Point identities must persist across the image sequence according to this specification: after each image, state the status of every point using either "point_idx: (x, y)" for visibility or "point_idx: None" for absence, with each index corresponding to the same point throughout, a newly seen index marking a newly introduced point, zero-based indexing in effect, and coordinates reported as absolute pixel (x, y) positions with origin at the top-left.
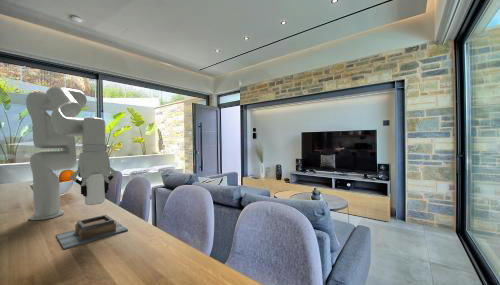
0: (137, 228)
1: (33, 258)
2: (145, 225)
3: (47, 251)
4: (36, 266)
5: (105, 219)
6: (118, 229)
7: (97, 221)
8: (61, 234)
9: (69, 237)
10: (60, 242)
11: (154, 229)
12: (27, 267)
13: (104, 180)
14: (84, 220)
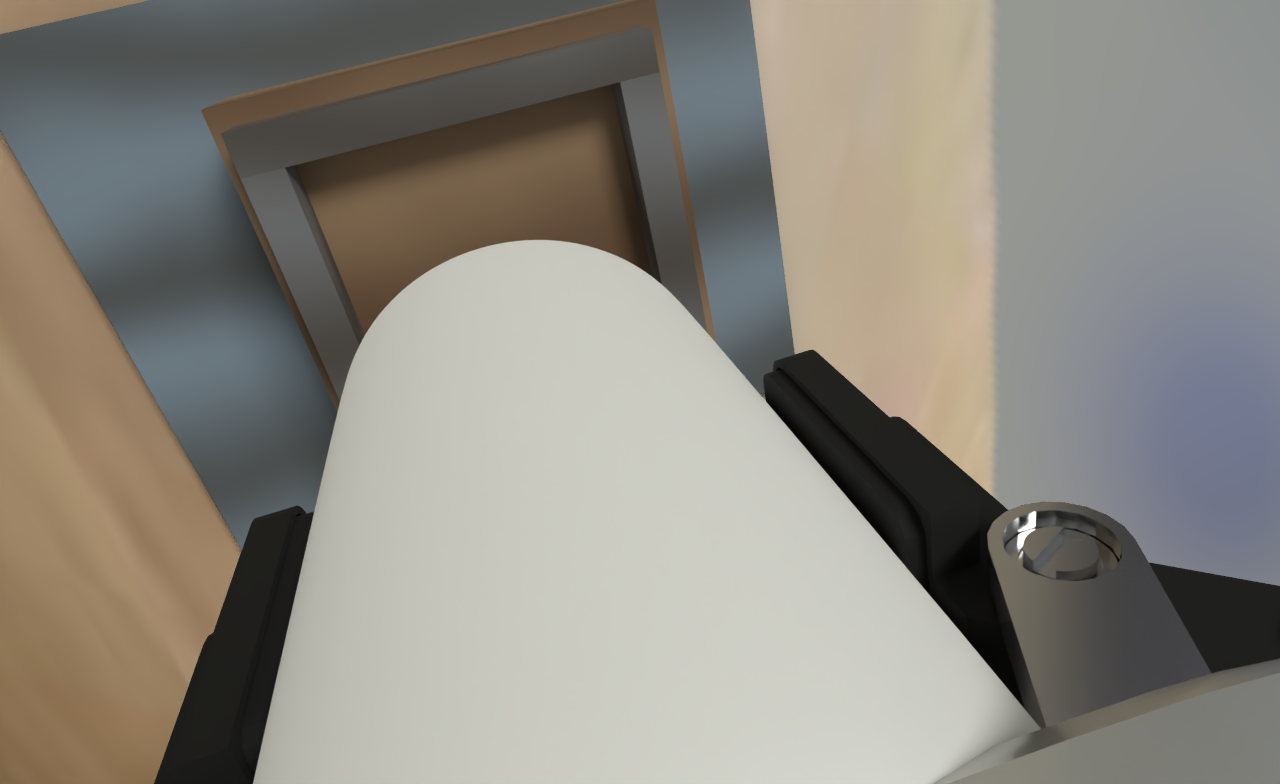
0: (879, 359)
1: (24, 606)
2: (964, 315)
3: (92, 514)
4: (134, 740)
5: (624, 148)
6: (720, 335)
7: (519, 179)
8: (46, 95)
9: (211, 289)
10: (152, 391)
11: (978, 466)
12: (65, 733)
13: (1011, 627)
14: (336, 152)
